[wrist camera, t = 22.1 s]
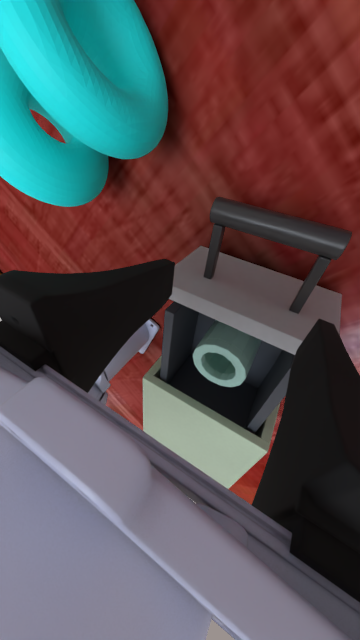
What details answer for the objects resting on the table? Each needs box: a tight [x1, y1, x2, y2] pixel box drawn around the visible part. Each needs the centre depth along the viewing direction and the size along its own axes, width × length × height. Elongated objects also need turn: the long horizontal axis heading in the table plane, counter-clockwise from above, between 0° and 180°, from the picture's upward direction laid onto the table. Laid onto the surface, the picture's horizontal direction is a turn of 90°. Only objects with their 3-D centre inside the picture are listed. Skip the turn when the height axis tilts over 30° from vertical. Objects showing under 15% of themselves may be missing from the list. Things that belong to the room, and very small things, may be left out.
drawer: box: [160, 197, 352, 434], centre depth 19 cm, size 19×11×7 cm, turn 173°
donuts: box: [0, 0, 168, 207], centre depth 14 cm, size 10×10×10 cm
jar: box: [193, 320, 261, 387], centre depth 20 cm, size 4×5×5 cm
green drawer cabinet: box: [143, 355, 280, 489], centre depth 28 cm, size 15×13×9 cm
